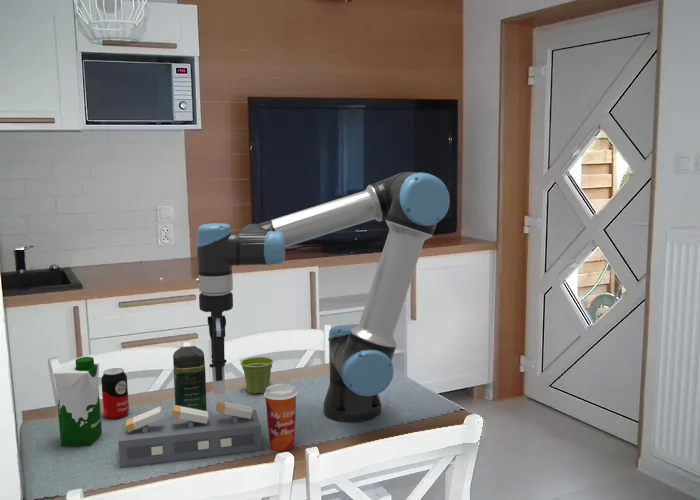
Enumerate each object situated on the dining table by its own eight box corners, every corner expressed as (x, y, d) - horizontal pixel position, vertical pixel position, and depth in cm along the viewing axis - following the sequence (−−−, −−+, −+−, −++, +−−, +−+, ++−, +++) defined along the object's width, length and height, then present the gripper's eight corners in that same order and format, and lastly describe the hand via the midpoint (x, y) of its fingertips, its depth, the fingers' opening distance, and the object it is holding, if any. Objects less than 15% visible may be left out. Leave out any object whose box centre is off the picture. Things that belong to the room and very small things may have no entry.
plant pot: (234, 392, 197) (233, 363, 195) (257, 383, 204) (256, 354, 203) (259, 398, 191) (258, 368, 190) (281, 388, 199) (280, 359, 198)
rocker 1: (163, 412, 159) (160, 406, 158) (163, 418, 155) (160, 411, 155) (129, 426, 157) (126, 419, 157) (128, 432, 154) (125, 426, 153)
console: (256, 433, 168) (255, 404, 167) (261, 451, 158) (260, 421, 157) (123, 448, 161) (121, 419, 160) (119, 468, 151) (117, 436, 150)
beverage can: (102, 420, 177) (99, 375, 175) (105, 411, 183) (102, 368, 182) (127, 418, 179) (125, 373, 177) (130, 409, 185) (127, 366, 183)
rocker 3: (248, 413, 164) (250, 406, 164) (250, 419, 160) (252, 412, 160) (215, 406, 161) (217, 400, 161) (216, 412, 158) (218, 405, 158)
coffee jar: (208, 423, 174) (205, 352, 172) (176, 427, 172) (172, 355, 170) (205, 410, 184) (202, 342, 181) (175, 413, 181) (171, 345, 179)
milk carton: (92, 447, 161) (86, 365, 158) (54, 447, 162) (48, 365, 159) (107, 432, 170) (101, 353, 167) (70, 432, 170) (64, 353, 167)
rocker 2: (205, 418, 161) (207, 411, 161) (206, 423, 158) (208, 417, 158) (171, 411, 159) (173, 404, 159) (171, 417, 156) (173, 410, 155)
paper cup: (271, 455, 156) (269, 396, 154) (261, 442, 163) (259, 385, 161) (304, 449, 159) (302, 390, 157) (293, 436, 166) (291, 380, 164)
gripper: (197, 287, 161) (201, 384, 165) (200, 299, 149) (203, 403, 152) (230, 285, 163) (233, 382, 166) (235, 297, 151) (238, 400, 154)
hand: (219, 392), depth 159 cm, fingers closed
